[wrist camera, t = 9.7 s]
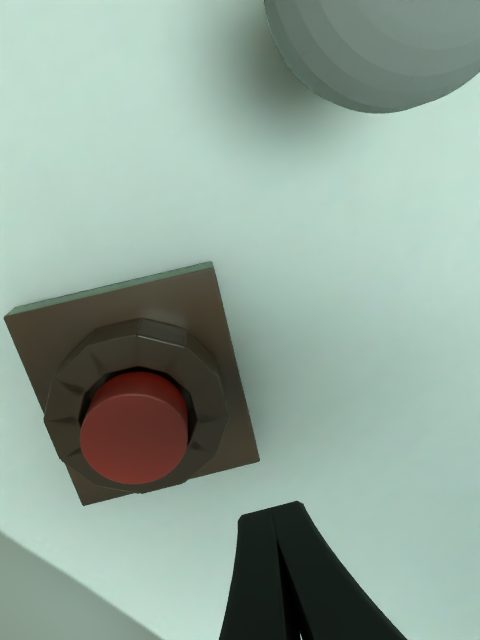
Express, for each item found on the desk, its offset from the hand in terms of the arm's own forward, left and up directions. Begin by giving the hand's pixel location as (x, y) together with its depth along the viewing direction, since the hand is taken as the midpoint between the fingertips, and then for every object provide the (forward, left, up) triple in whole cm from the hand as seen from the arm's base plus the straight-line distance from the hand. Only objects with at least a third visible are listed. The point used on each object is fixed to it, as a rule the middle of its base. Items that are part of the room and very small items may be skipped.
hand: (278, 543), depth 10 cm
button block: (0, +4, -10) cm, 11 cm away
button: (0, +4, -8) cm, 9 cm away
